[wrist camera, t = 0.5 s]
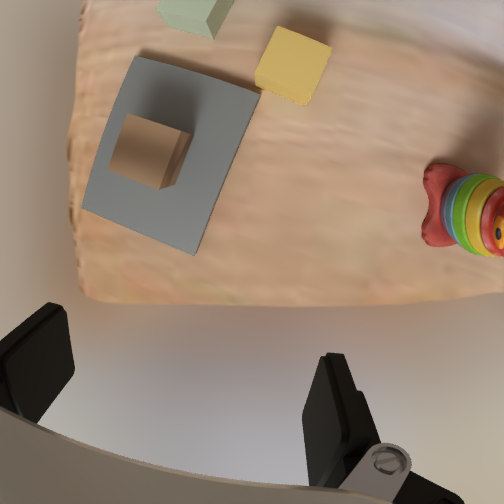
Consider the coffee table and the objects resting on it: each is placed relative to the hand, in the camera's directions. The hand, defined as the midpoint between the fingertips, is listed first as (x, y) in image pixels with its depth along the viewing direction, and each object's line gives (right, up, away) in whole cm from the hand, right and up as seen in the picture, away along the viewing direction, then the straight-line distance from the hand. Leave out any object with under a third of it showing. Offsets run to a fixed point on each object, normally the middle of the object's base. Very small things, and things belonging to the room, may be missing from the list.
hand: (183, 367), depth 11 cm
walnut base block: (-8, +15, +24) cm, 30 cm away
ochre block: (+7, +24, +23) cm, 34 cm away
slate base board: (-8, +16, +26) cm, 31 cm away
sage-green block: (-4, +33, +21) cm, 39 cm away
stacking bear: (+29, +10, +26) cm, 40 cm away
